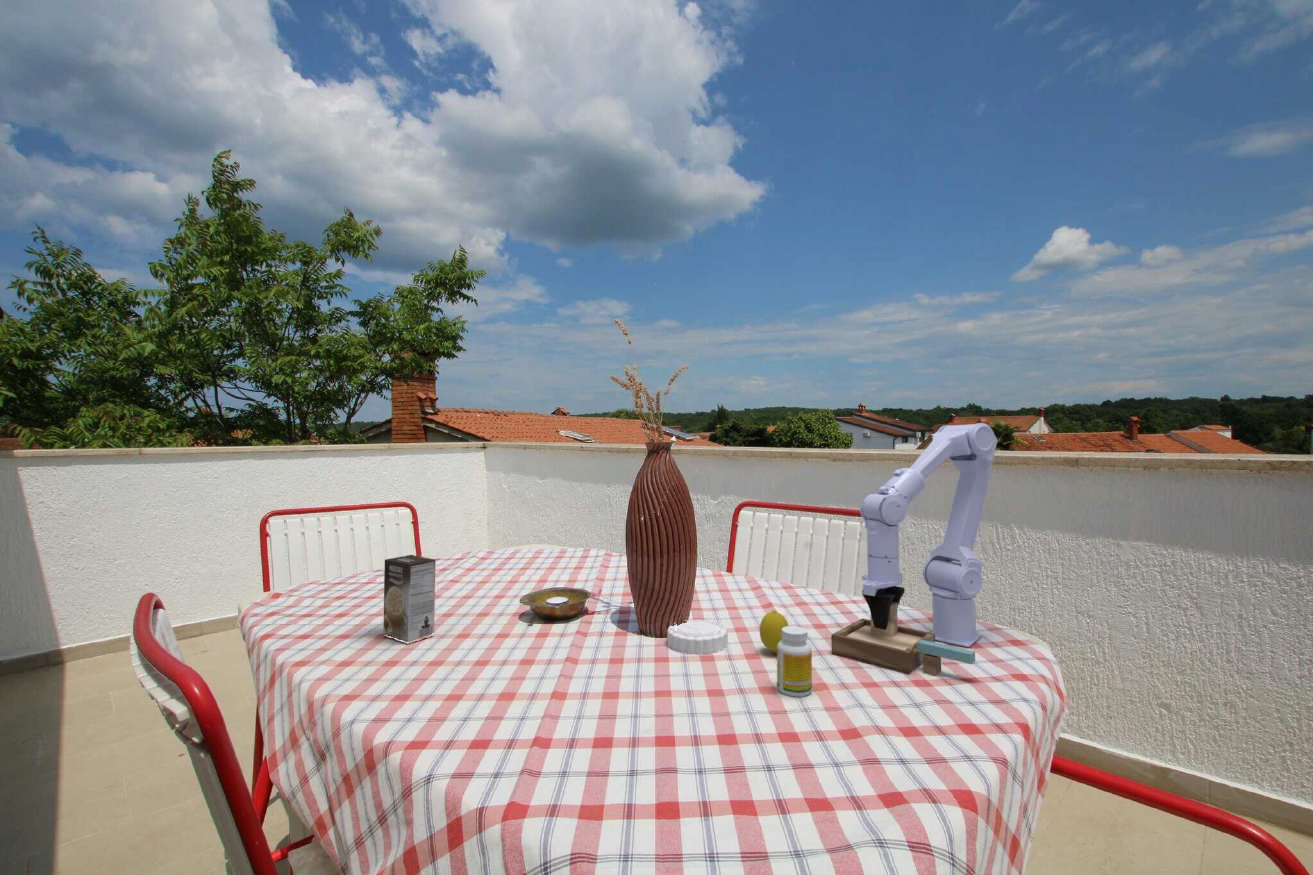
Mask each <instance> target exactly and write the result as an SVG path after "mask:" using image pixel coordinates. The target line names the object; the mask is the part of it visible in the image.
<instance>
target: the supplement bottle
mask: <svg viewBox="0 0 1313 875" xmlns="http://www.w3.org/2000/svg"><path fill="white" fill-rule="evenodd" d="M781 636H782V639H783V640H781V641H780V642H779V643H778V645H777V653H776V672H777V673H776V681H777V682H776V683H777V687H776V688H777V690H778V691H779V692H780V693H782V694H784V695H786V696H790V697H796V698H801V697H802V698H803V697H807V696H809V695H810V694H811V693H812V690H813V689H812V688H813V687H812V685H813V684H812V683H813V676H812V675H813V673H812V672H813V669H812V667H813V666H812V664H813V661H812V660H813V654H812V653H813V649H812V646H811V644H809V642H807V640H808V630H807V629H806V628H804V627H803V626H802V627H801V626H796V625H793V626H792V625H789V626H786V627H783V628H782V635H781Z"/></svg>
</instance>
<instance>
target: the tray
mask: <svg viewBox="0 0 1313 875" xmlns="http://www.w3.org/2000/svg"><path fill="white" fill-rule="evenodd" d="M865 625H868V626H871V619H867V618H861V619H859V620H856V621H855V622H853V623H851V624H849V625H847V626H845V627H844V628H841V629H840V630H838V631H835V632H833V633H832V634H830V635H831V636H830V637H831V640H830V642H831V655H835V656H838V657H842V658H844V659H845V658H846V659H848V660H849V659H850V660H854V661H856V662H860V663H864V664H868V665H872V666H876V667H880V668H883V669H887V670H891V671H895V672H897V673H898V672H899V673H902V674H906V675H910V674H912V673H913V672H915V670H916V669H918V668H919V667H920V666H921V665H922V670H923V671H922V673H923V674H927V675H930V676H934V677H936V676H938V675H939V673H941V672H942V657H938V656H934V655H930V654H925V653H921V652H917V642H918V641H920V640H926V641H930V642H935V643H936V640H935V634H934V633H930V632H928V631H924V630H918V629H915V628H910V627H906V626H900V625H898V632H900V633H905V634H909V635H914V636H918V637H923V638H921V639H920V640H918V641H917V642H916V643H914V649H910V648H907V649H906V650H901V649H897V648H893V647H889V646H885V645H880V644H876V643H872V642H868V641H864V640H860V639H855V638H851V637H847V635H849V634H851V633H853V632H854V631H856V630H858V629H860V628H862V627H864V626H865Z"/></svg>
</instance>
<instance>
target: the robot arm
mask: <svg viewBox="0 0 1313 875" xmlns="http://www.w3.org/2000/svg"><path fill="white" fill-rule="evenodd" d="M931 440H932V441H931V442H930V444H929V445H928V446H927V447H926V448H925V449H924V450H923V452H922V453H921V454H920V455H919V457H918V458H917V459H915V461H914V462H913V463H912V464H911V466H910V467H902V468H900V469H896V470H894V472H893V473H892V475H893V476H892V477H891V478H890V479H889V480H888V481H887V482H885V484H883V485H881V486H880V487H879V488H878V491H877V492H876V493H870V494H869V495H867V496H866V497H865V498H864V499H863V501H862V505H861V506H860V507H859V513H860V515H861V517H862V519H863V520H864V528H866V548H867V549H866V550H867V552H866V554H867V556H866V558H867V574H864V575H861V580H862V581H865V583H863V585H862V592H861V593H862V596H863V598H864V600H865V601H866V603H867V606H868V609H869V611H870V617H871V616H872V620H873V624H874V627H875V628H879V629H883V630H886V629H887V625H888V618H889V610H890V606H891V603H892V602H896V603H897V609H898V608H899V604H900V601H901V599H902V598H903V596H904V594H905V588H904V587H902V586H900V585H901V584H902V583H903V573H902V572H901V573H900V544H899V543H900V541H899V540H900V537H899V534H900V532H899V527H900V526H899V524H900V523H901V522H903V521H904V520H905V517H906V516H907V515H906V514H907V509H908V508H909V506H910V504H911V503H912V501H913V500H915V499H916V497H918V495H919V494H920V493H921V492H922V491H923V490H924V489H925V487H926V482H925V480H926V479H927V478H928V477H930V475H931V474H932V473H933V472H934V471H935V470H937V469H938V468H939V467H940V466H941V465H943V463H945V462H946V461H947V460H948V461H949V462H950V463H951V465H953V466H954V467H956V468H957V469H958V471H959V477H958V481H957V486H956V490H955V494H954V498H953V502H952V506H951V509H950V513H949V518H948V521H947V522H948V523H947V525H946V530H945V534H944V538H943V541H942V542H943V543H942V544H940V545H939V546H937V547H935V548H934V549H932V550H931V551H930V556H929V558H928V560H927V561H926V563H925V564H924V566H923V569H922V577H923V580H924V583H925V584H926V585H927V586H928V587H929V591H930V592H932V593H931V594H932V595H931V596H932V597H931V598H932V600H931V601H932V631H931V632H929V633H934V634H935V641H938V642H943V643H947V644H953V645H957V646H960V647H961V646H962V647H966V648H970V647H972V645H973V644H975V643H976V642H977V641H978V640H980V638H981V637H982V633H979V632H977V614H976V611H977V610H976V608H977V607H976V603H975V600H974V599H975V598H977V597H976V596H977V595H978V593H980V590H981V588H982V586H983V578H982V577H983V576H982V569H983V563H982V561H981V560H980V559H979V557H977V556H978V555H976V554H975V553H974V551H973V550H974V546H975V542H976V538H977V534H978V531H979V530H978V529H979V526H980V522H981V517H982V513H983V510H984V504H985V500H986V496H987V492H988V487H989V484H990V480H991V475H992V470H993V461H994V457H995V452H996V449H997V444H998V439H997V437H996V435H995V433H994V431H993V429H992V428H991V426H989V424H986V423H985V422H978V423H974V424H973V423H972V424H958V425H957V424H955V425H950V424H948V425H946V424H945V425H942V426H941V427H940V428H938V430H937V431H936V432H935V433H934V434H932V438H931Z"/></svg>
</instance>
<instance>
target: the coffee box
mask: <svg viewBox="0 0 1313 875" xmlns="http://www.w3.org/2000/svg"><path fill="white" fill-rule="evenodd" d="M436 562H437V561H436V559H435V558H434V559H433V558H430V557H429V558H428V557H424V556H421V555H420V556H418V555H416V554H415V555H414V554H409V555H408V554H407V555H404V556H403V555H402V556H398V557H392V558H387V559H386V558H385V559H384V573H383V574H384V578H383V579H384V580H383V582H384V584H383V585H384V586H383V589H384V590H383V623H382V624H383V634H384V635H388V636H391V637H393V638H397V639H399V640H403V641H405V642H411V641H413V640H416V639H419V638H422V637H424V636H427V635H431V634H432V633H434V634H435V614H436V613H435V612H436V608H435V607H436V606H435V604H436V602H435V601H436Z"/></svg>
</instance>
